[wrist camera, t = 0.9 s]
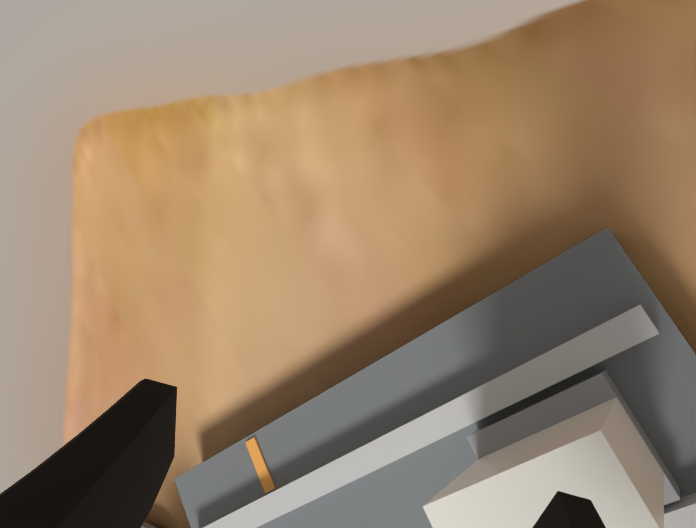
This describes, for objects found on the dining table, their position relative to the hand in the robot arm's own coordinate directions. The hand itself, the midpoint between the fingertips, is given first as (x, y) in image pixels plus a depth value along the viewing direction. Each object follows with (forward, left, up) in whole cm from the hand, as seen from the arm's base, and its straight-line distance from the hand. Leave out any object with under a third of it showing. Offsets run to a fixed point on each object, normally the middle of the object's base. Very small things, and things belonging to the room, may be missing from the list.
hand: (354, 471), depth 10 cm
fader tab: (-3, -1, -11) cm, 11 cm away
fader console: (-3, +6, -13) cm, 14 cm away
